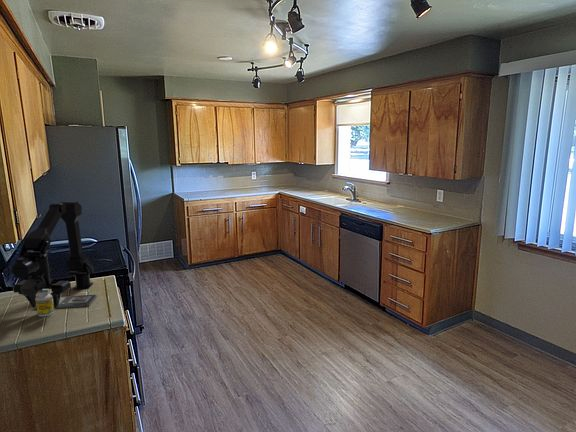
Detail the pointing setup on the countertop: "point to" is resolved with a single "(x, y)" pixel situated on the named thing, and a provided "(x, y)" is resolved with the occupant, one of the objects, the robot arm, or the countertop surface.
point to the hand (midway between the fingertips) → (45, 307)
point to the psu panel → (75, 301)
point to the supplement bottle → (44, 303)
